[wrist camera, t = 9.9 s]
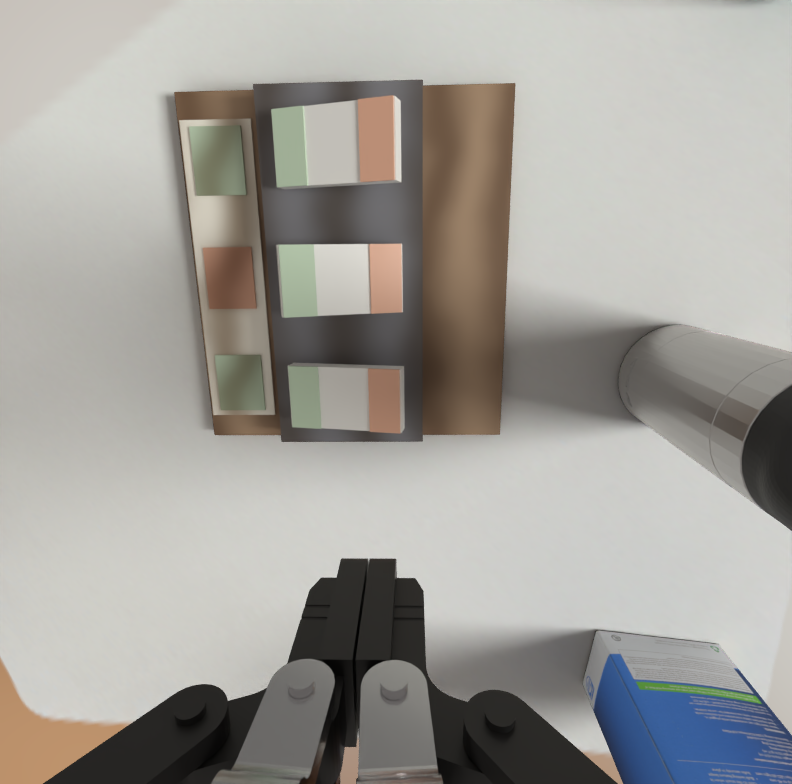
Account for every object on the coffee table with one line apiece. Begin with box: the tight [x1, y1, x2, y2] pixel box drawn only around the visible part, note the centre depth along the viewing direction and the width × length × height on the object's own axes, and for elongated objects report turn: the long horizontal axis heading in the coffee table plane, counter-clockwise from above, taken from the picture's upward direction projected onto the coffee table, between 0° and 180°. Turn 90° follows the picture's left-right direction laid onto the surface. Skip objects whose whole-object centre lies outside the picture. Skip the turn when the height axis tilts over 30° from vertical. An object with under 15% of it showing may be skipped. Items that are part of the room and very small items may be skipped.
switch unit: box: [174, 80, 515, 442], centre depth 40 cm, size 26×28×5 cm
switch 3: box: [288, 363, 405, 434], centre depth 39 cm, size 9×5×1 cm, turn 91°
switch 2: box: [276, 244, 403, 318], centre depth 37 cm, size 9×5×1 cm, turn 91°
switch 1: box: [271, 95, 401, 189], centre depth 34 cm, size 9×5×1 cm, turn 91°
